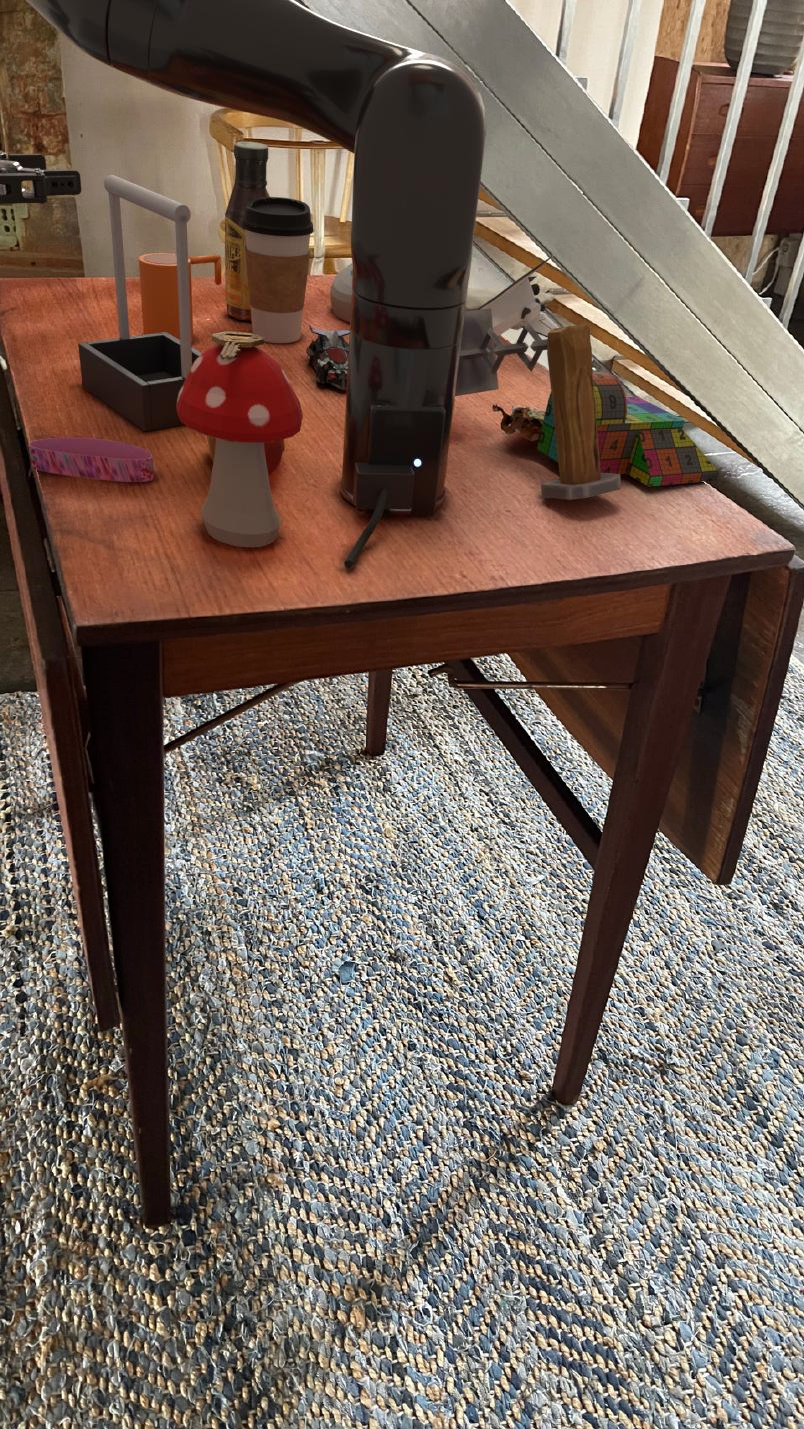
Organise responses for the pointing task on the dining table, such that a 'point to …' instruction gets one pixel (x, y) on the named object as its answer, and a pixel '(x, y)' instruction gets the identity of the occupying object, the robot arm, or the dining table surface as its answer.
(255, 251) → the coffee cup
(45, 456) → the headband
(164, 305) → the orange mug
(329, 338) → the toy car
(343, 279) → the decorative stone
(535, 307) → the space shuttle model
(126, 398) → the basket
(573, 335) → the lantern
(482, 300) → the arrowhead
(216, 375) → the decorative mushroom
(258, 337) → the key
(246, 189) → the sauce bottle
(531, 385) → the dining table surface
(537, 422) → the brown crumpled lump
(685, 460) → the building blocks
